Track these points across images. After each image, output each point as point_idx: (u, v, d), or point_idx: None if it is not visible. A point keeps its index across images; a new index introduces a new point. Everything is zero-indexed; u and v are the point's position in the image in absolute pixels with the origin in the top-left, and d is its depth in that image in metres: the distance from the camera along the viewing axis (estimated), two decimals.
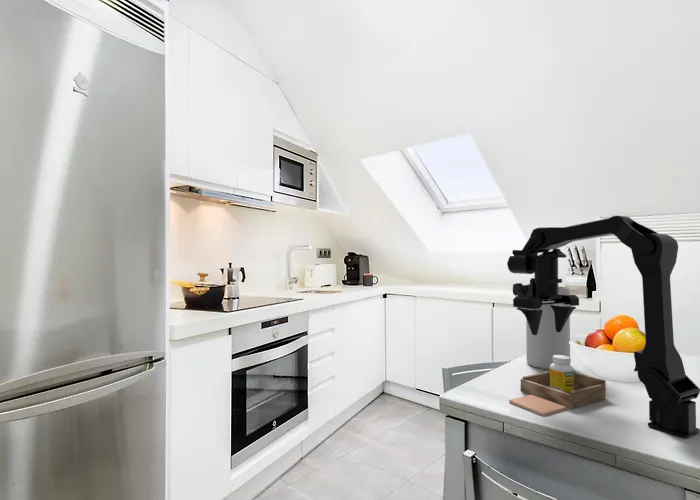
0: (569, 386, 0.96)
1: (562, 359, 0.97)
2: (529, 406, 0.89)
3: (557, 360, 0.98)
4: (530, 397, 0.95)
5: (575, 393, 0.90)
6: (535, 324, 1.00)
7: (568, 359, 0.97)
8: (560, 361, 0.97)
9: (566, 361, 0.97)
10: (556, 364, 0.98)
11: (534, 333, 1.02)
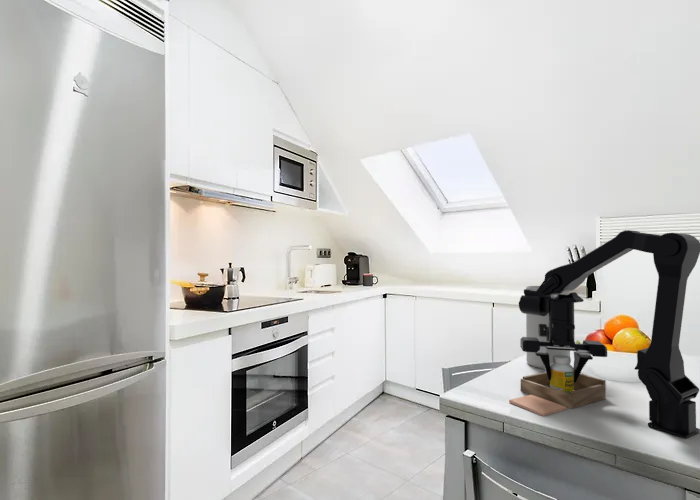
0: (569, 386, 0.96)
1: (562, 359, 0.97)
2: (529, 406, 0.89)
3: (557, 360, 0.98)
4: (530, 397, 0.95)
5: (575, 393, 0.90)
6: (545, 368, 0.99)
7: (568, 359, 0.97)
8: (560, 361, 0.97)
9: (566, 361, 0.97)
10: (556, 364, 0.98)
11: (548, 377, 0.99)
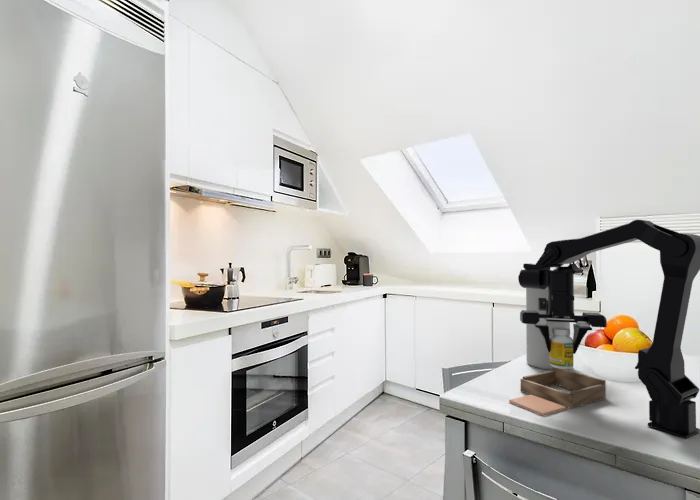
0: (569, 357, 0.96)
1: (562, 330, 0.97)
2: (529, 406, 0.89)
3: (557, 331, 0.98)
4: (530, 397, 0.95)
5: (575, 393, 0.90)
6: (545, 340, 0.99)
7: (567, 330, 0.97)
8: (560, 333, 0.97)
9: (565, 332, 0.97)
10: (556, 336, 0.98)
11: None
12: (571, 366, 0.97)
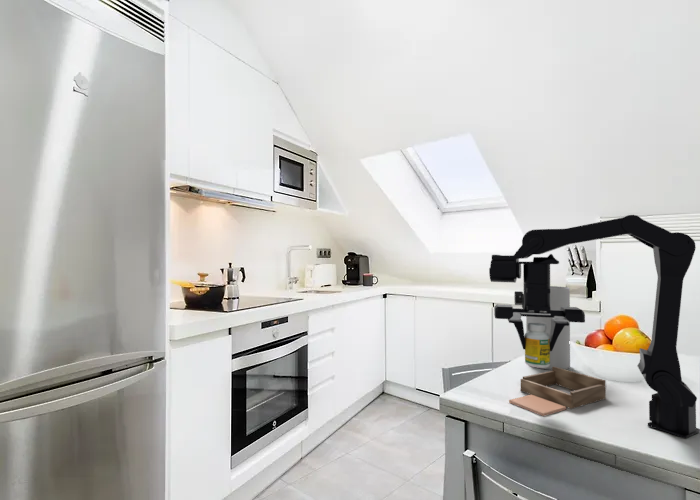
0: (545, 355, 0.89)
1: (537, 326, 0.90)
2: (529, 406, 0.89)
3: (532, 327, 0.91)
4: (530, 397, 0.95)
5: (575, 393, 0.90)
6: (519, 337, 0.92)
7: (543, 326, 0.90)
8: (535, 329, 0.90)
9: (541, 328, 0.90)
10: (531, 332, 0.91)
11: None
12: (547, 364, 0.89)
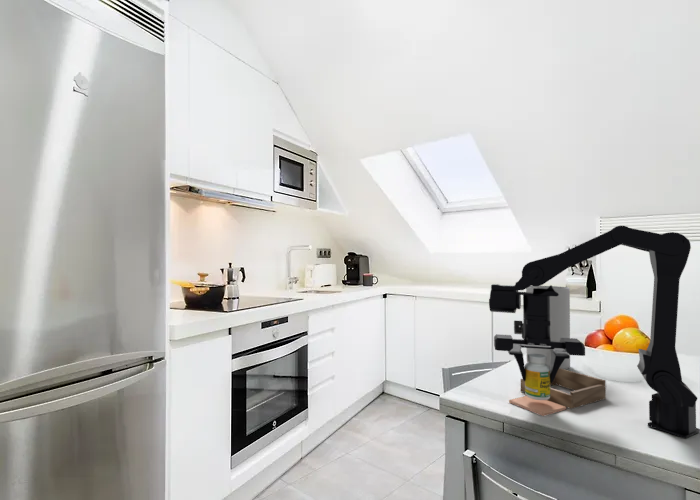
0: (545, 387, 0.89)
1: (537, 358, 0.90)
2: (529, 406, 0.89)
3: (532, 359, 0.90)
4: None
5: (575, 393, 0.90)
6: (519, 368, 0.91)
7: (544, 358, 0.90)
8: (535, 361, 0.90)
9: (541, 360, 0.89)
10: (531, 363, 0.91)
11: None
12: (547, 397, 0.89)
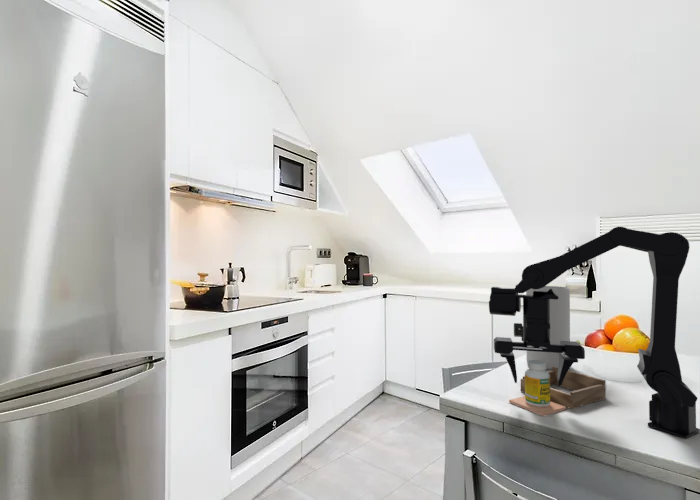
0: (545, 394, 0.89)
1: (537, 365, 0.90)
2: (529, 406, 0.89)
3: (532, 365, 0.90)
4: None
5: (575, 393, 0.90)
6: (511, 370, 0.92)
7: (544, 365, 0.90)
8: (535, 367, 0.90)
9: (541, 367, 0.89)
10: (531, 370, 0.91)
11: (514, 380, 0.93)
12: (547, 404, 0.89)
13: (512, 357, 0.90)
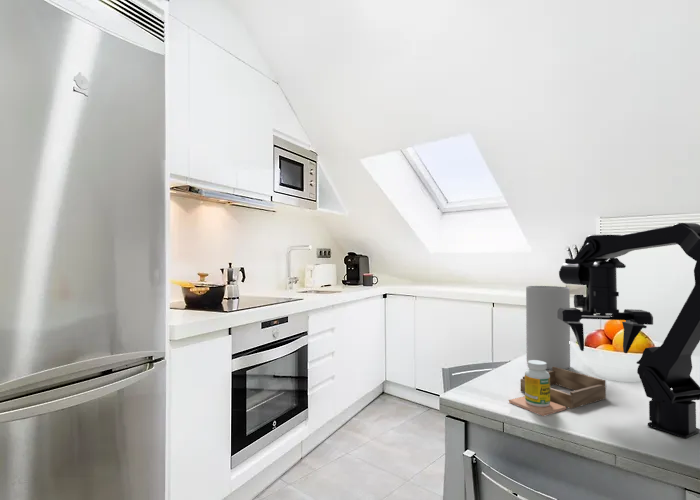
0: (545, 394, 0.89)
1: (537, 365, 0.90)
2: (529, 406, 0.89)
3: (532, 365, 0.90)
4: None
5: (575, 393, 0.90)
6: (578, 339, 0.94)
7: (544, 365, 0.90)
8: (535, 367, 0.90)
9: (541, 367, 0.89)
10: (531, 370, 0.91)
11: (580, 348, 0.95)
12: (547, 404, 0.89)
13: (581, 325, 0.93)
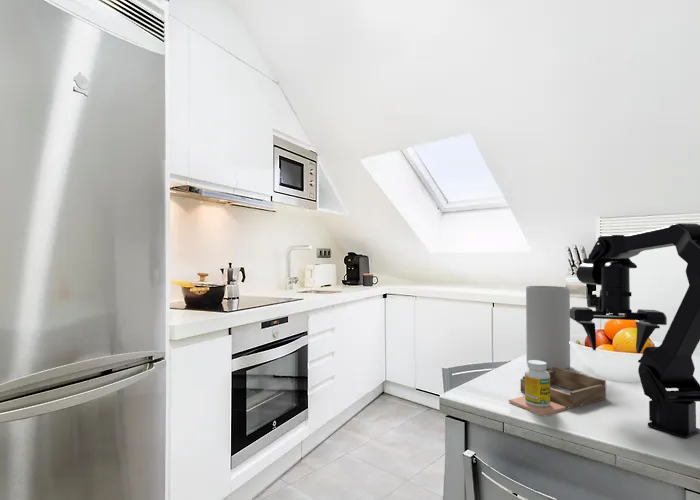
0: (545, 394, 0.89)
1: (537, 365, 0.90)
2: (529, 406, 0.89)
3: (532, 365, 0.90)
4: None
5: (575, 393, 0.90)
6: (590, 338, 0.95)
7: (544, 365, 0.90)
8: (535, 367, 0.90)
9: (541, 367, 0.89)
10: (531, 370, 0.91)
11: (592, 348, 0.96)
12: (547, 404, 0.89)
13: (593, 324, 0.93)
